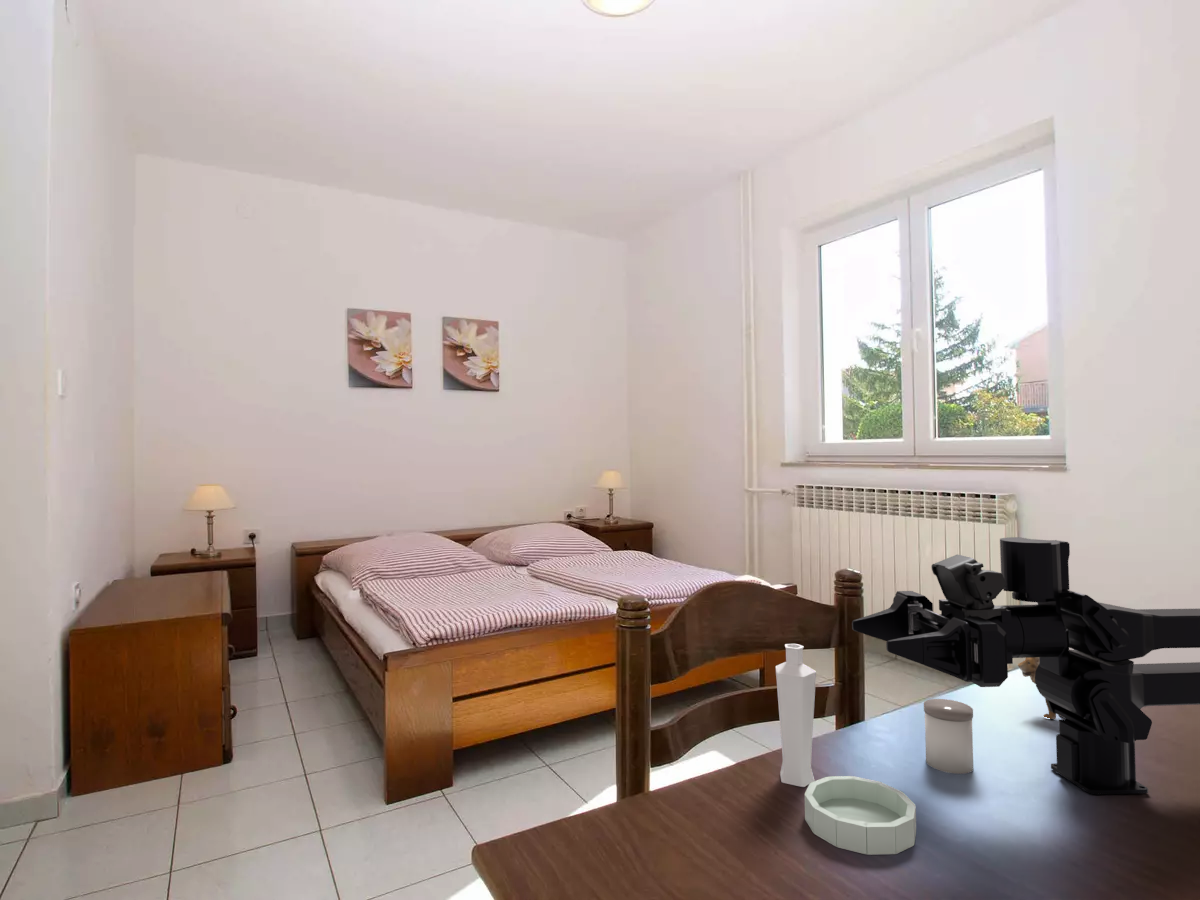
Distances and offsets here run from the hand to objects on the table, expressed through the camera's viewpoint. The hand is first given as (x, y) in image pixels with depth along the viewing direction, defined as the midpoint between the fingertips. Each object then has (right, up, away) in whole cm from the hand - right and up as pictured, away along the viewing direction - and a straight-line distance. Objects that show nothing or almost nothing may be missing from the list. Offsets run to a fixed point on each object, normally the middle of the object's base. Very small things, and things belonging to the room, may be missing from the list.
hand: (868, 635), depth 75 cm
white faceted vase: (-8, -17, +1) cm, 19 cm away
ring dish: (-4, -16, -8) cm, 19 cm away
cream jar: (+11, -17, +5) cm, 21 cm away
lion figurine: (+33, -17, +16) cm, 41 cm away
